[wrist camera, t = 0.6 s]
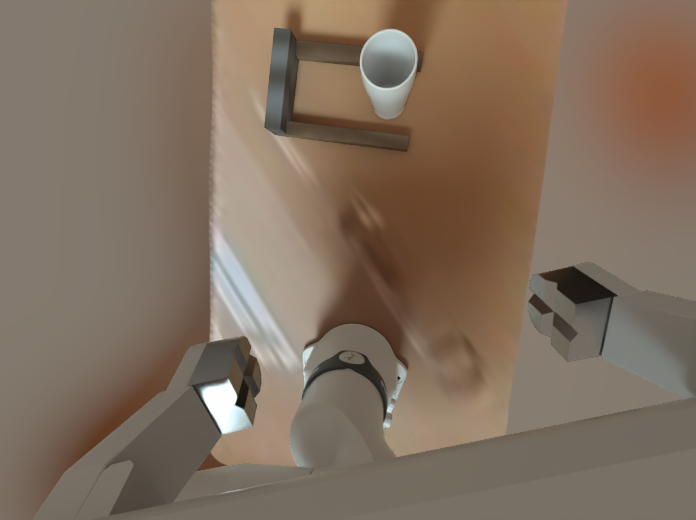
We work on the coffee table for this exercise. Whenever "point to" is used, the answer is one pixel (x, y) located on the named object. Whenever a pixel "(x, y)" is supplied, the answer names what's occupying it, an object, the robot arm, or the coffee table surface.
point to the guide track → (283, 92)
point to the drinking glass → (388, 71)
